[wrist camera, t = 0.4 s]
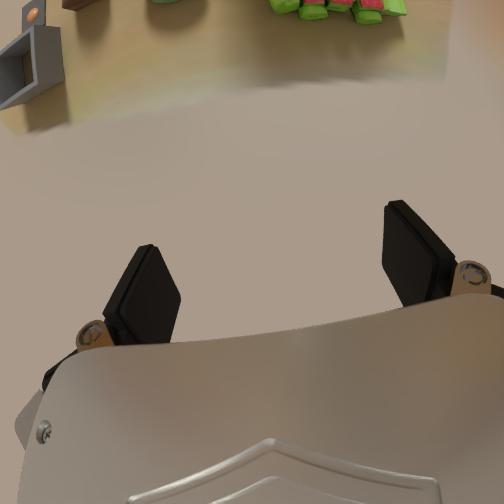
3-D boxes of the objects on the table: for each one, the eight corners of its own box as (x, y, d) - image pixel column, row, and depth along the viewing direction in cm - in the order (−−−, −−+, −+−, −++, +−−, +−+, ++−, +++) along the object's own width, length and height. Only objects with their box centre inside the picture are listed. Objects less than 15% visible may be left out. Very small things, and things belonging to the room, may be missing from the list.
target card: (23, 7, 18) (22, 7, 18) (46, -9, 18) (44, -9, 17) (23, 39, 23) (21, 39, 22) (45, 23, 22) (44, 23, 22)
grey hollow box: (19, 54, 24) (-7, 57, 18) (59, 27, 23) (33, 24, 18) (24, 103, 30) (-2, 111, 24) (64, 80, 29) (38, 83, 23)
